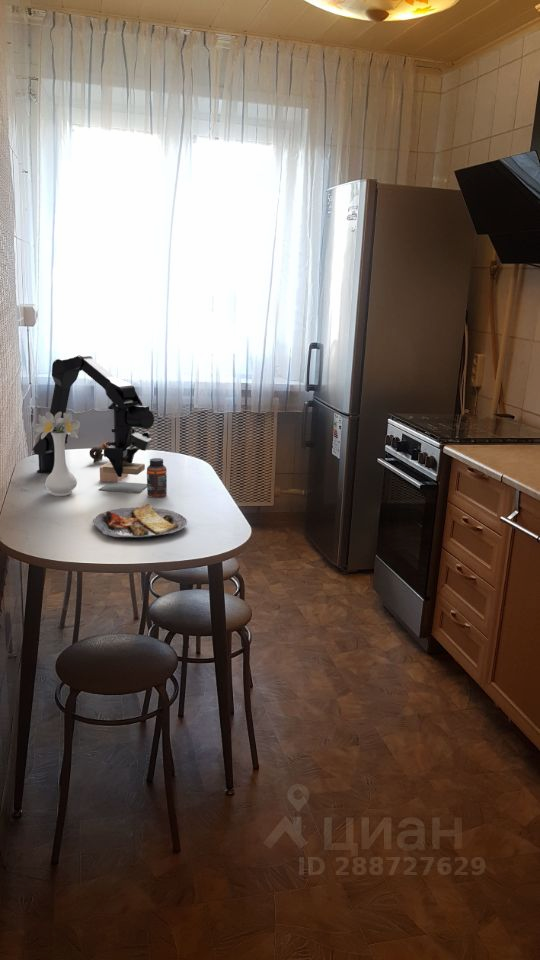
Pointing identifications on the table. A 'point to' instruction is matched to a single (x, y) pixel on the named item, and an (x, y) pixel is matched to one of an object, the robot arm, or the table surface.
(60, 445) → the flower vase
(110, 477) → the dish
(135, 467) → the lid
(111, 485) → the mat
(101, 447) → the dark brown looped piece
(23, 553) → the table surface
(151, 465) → the supplement bottle
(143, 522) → the food plate
